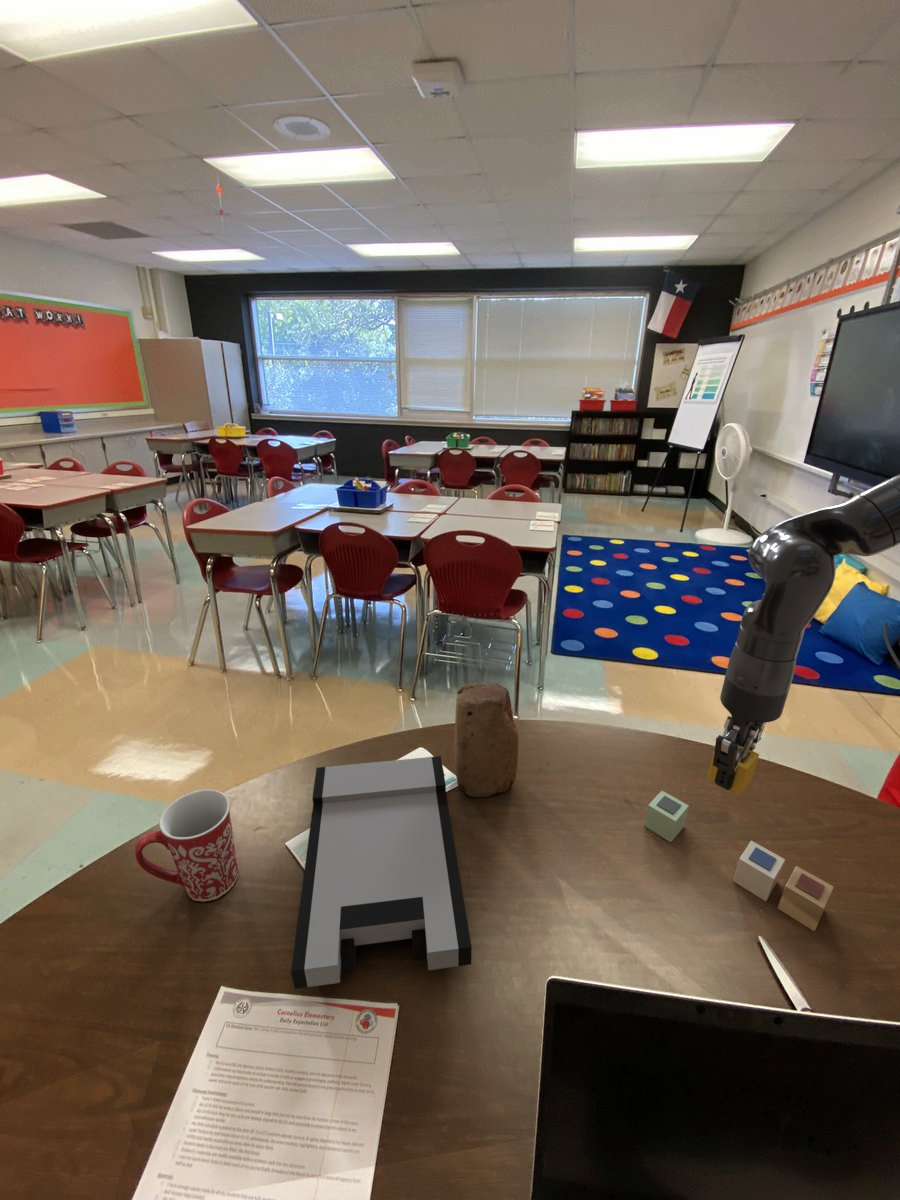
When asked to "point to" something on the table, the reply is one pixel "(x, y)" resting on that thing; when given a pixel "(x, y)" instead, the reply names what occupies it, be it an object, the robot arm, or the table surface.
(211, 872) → the mug
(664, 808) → the block
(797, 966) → the table surface
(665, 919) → the table surface
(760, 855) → the block
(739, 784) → the yellow block
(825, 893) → the block
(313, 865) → the grey notched sloped slab
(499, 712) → the block
